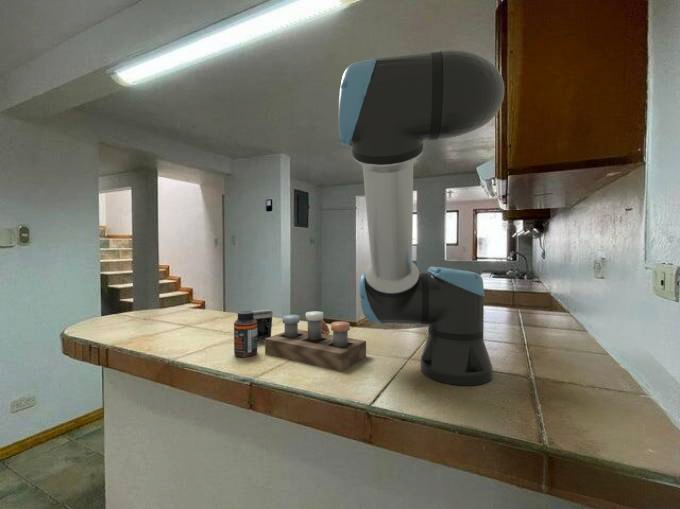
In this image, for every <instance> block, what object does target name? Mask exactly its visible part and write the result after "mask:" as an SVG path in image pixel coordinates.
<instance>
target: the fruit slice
mask: <svg viewBox="0 0 680 509" xmlns="http://www.w3.org/2000/svg"><path fill="white" fill-rule="evenodd" d="M321 331H322V334H328V335H330V333H331V332H330V328H329V326H328V324H327V323H326V321H325V320H324V318H323V319H322V320H321Z"/></svg>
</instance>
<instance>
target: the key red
mask: <svg viewBox="0 0 680 509" xmlns="http://www.w3.org/2000/svg"><path fill="white" fill-rule="evenodd" d="M350 326H351V325H350V322H348V321H333V322H331V323H330V330H331V331H332V332H333V333H332V335H333V347H337V348H343V349H344V348H346V347H348V338H349V337H348V334H349V331H350V330H351V329H350V328H351V327H350Z"/></svg>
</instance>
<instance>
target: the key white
mask: <svg viewBox="0 0 680 509" xmlns="http://www.w3.org/2000/svg"><path fill="white" fill-rule="evenodd" d="M322 319H323V320H324V312H323V311H315V310H314V311H307V312H305V321H307V331H308V339H311V340H318V339H321V338H322V331H321V320H322Z"/></svg>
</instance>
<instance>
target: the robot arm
mask: <svg viewBox="0 0 680 509" xmlns="http://www.w3.org/2000/svg"><path fill="white" fill-rule="evenodd" d="M498 69H499V68H497V67H496V66H495V65H494V63H492V62H491V61H489V59H487V58H485V57H483V56H481V55H478V54H476V53H473V52H470V51H467V50H466V51H465V50H457V49H447V50H441V51H433V52H427V53H426V52H425V53H415V54H406V55H396V56H386V57H375V58H371V59H366V60H361V61H358V62H353V63H351V64H349V65H348V66H347V67H346V68H345V71H344V72H343V75H342V77H341V78H342V79H341V83H340V88H339V97H338V116H337V117H338V122H337V123H338V137H339V140H340V144H341V145H342V146H344V147H346V148H349V147H351V154H352V158H353V160H354V161H355V162H357V163H358V164H359V165H360V166H362V173H363V186H364V195H365V196H364V199H365V206H366V207H365V208H366V209H365V210H366V217H367V218H366V219H367V230H368V242H369V252H370V253H369V254H370V264H369V265H368V266H367V267H366V269H365V272H363V273H362V274H361V275H360V278H359V296H360V298H359V299H360V300H359V301H360V306H361V311H362V313H363V314H362V315H364V318H365V319H366V320H367V321H368V322H373V323H379V324H382V325H383V324H395V325H396V324H399V325H401V324H402V325H404V324H405V325H428V326H427V327H428V336H427V339H426V342H425V345H424V347H423V351H422V354H421V357H420V371H421V372H422V374H423V375H425V376H426V377H427V378H430V379H432V380H435V381H437V382H441V383H445V384H450V385H455V386H456V385H457V386H478V385H482V384H486V383H489V382H490V381H492V379H493V365H492V362H491V359H490V356H489V353H488V350H487V346H486V344H485V341H484V340H485V339H484V329H485V328H484V327H485V326H484V325H485V324H484V322H485V321H484V320H485V319H484V315H485V314H484V313H485V310H484V307H485V306H484V305H485V303H484V301H485V298H484V297H485V296H486V295H485V289H484V280H483V277H482V276H481V275H480V274H479V273H477V272H473V271H470V270H463V269H456V268H449V267H444V266H443V267H442V266H441V267H440V266H429V267H428V269H427V272H420V270H419V268H418V266H417V265H416V264H415V263H414V262H413V229H414V228H413V227H414V226H413V223H414V222H413V220H414V219H413V215H414V214H413V213H414V212H413V211H414V208H413V207H414V162H415V161H417V159H419V158H420V157H421V156H422V154H423V151H424V141H431V140H432V141H436V140H444V139H451V138H455V137H460V136H462V135H465V134H469V133H472V132H474V131H477V130H478V129H480V128H482V127H484V126H485V125H487V124H488V123H489V122H491V121H492V120H493V119H494V117H496V115H497V114H498V112H499V111H500V108H501V107H502V104H503V102H504V100H505V99H504V97H505V82H504V79H503V76H502V73H501V72H500V71H499V70H498Z"/></svg>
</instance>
